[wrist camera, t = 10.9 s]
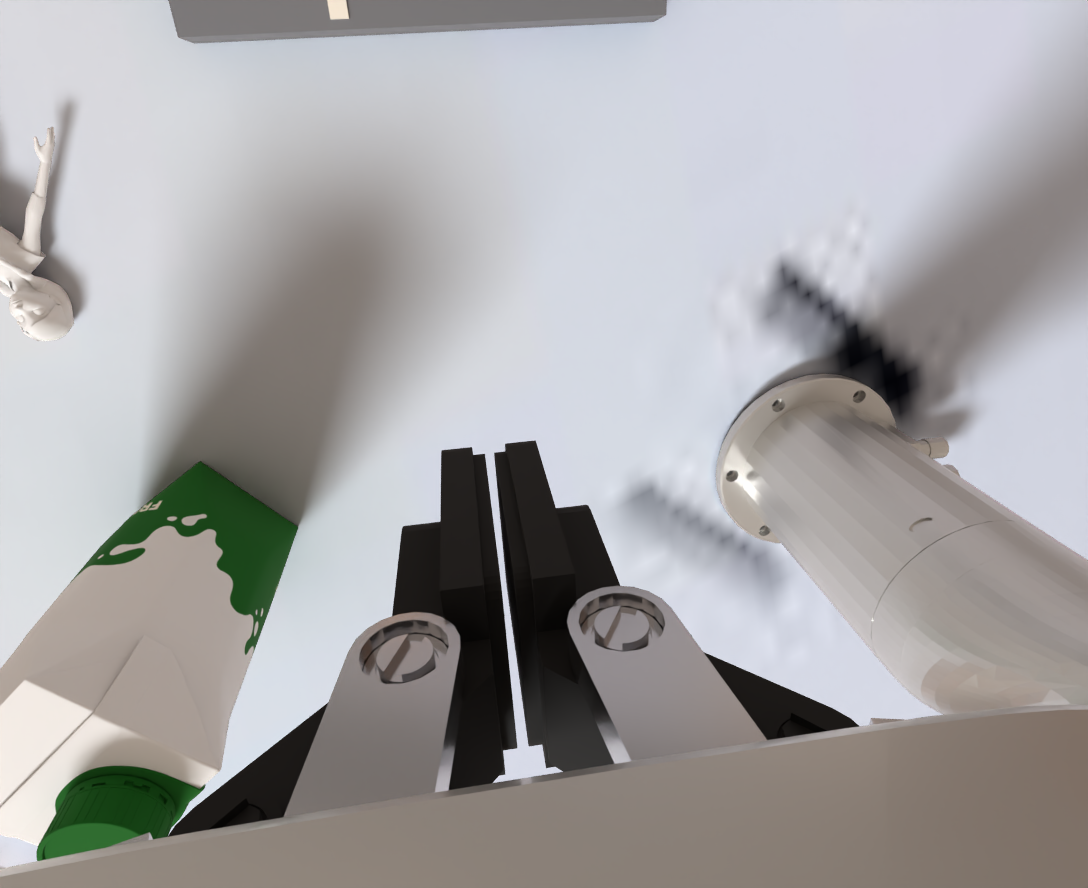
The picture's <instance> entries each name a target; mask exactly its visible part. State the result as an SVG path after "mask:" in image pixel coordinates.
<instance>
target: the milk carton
mask: <svg viewBox="0 0 1088 888" xmlns="http://www.w3.org/2000/svg"><path fill="white" fill-rule="evenodd" d="M297 530H298V527H297V526H296V525H294V524H293V523H291V522H290V521H288V520H287V519H285V518H284V517H282V516H281V515H279V514H278V513H276V512H275V511H274V510H272V509H271V508H269V507H268V506H266V505H265V504H263V503H262V502H260V501H259V500H257V499H256V498H254V497H253V496H251V495H250V494H248V493H247V492H245V491H244V490H242V489H241V488H239V487H238V486H236V485H235V484H233V483H232V482H230V481H229V480H227V479H226V478H224V477H223V476H221V475H220V474H218V473H217V472H215V471H214V470H212V469H211V468H210V467H208V466H207V465H205V464H204V463H202V462H201V461H200V462H198V463H197V464H196V465H195V466H193V467H192V468H191V469H190V470H188V471H187V472H186V473H184V474H183V475H182V476H181V477H179V478H178V479H177V480H176V481H174V482H173V483H172V484H171V485H169V486H168V487H167V488H166V489H164V490H163V491H162V492H161V493H159V494H158V495H157V496H155V497H154V498H153V499H152V500H150V501H149V502H148V503H147V504H145V505H144V506H143V507H142V508H140V509H139V510H138V511H137V512H136V513H134V514H133V515H132V516H131V517H130V518H129V519H128V520H127V521H126V522H125V523H124V524H123V525H122V526H121V527H120V528H119V529H118V530H117V531H116V532H115V533H114V534H113V535H112V536H111V537H110V538H109V539H108V540H107V541H106V542H105V543H104V544H103V545H102V546H101V547H100V548H99V549H98V550H97V551H96V553H95V554H94V555H93V556H92V557H91V559H90V560H89V561H88V562H87V563H86V565H85V566H84V567H83V568H82V569H81V571H80V572H79V573H78V574H77V575H76V576H75V578H74V579H73V580H72V581H71V582H70V584H69V585H68V586H67V587H66V588H65V590H64V591H63V592H62V593H61V594H60V596H59V597H58V598H57V599H56V600H55V602H54V603H53V604H52V605H51V606H50V608H49V609H48V610H47V611H46V612H45V614H44V615H43V616H42V617H41V618H40V620H39V621H38V622H37V623H36V624H35V626H34V627H33V628H32V629H31V630H30V631H29V633H28V634H27V635H26V637H25V638H24V639H23V641H22V642H21V644H20V645H19V646H18V648H17V649H16V650H15V652H14V653H13V654H12V655H11V657H10V658H9V659H8V660H7V661H6V663H5V664H4V665H3V667H2V668H1V669H0V835H3V836H6V837H14V838H17V839H20V840H23V841H26V842H28V843H31V844H34V845H37V846H38V849H37V861H41V860H46V859H51V858H56V857H61V856H66V855H71V854H76V853H81V852H86V851H91V850H96V849H101V848H106V847H109V846H112V845H115V844H118V843H121V842H123V841H126V840H129V839H132V838H135V837H138V836H141V835H143V834H146V833H149V832H150V834H151V836H152V838H153V839H159V838H164V837H168V834H169V832H170V829H171V827H172V826H173V825H174V824H175V823H176V822H177V821H178V820H179V819H180V818H181V816H182V815H183V813H184V811H185V809H186V807H187V806H188V804H189V802H190V801H191V800H192V799H194V798H195V797H196V796H197V795H198V794H199V793H200V792H201V791H203V789H204V788H205V784H206V783H207V782H208V781H209V780H211V779H212V778H213V777H214V776H215V775H216V774H217V773H218V772H219V771H220V770H221V767H222V760H223V754H224V748H225V742H226V736H227V730H228V724H229V719H230V716H231V713H232V710H233V707H234V705H235V702H236V699H237V696H238V694H239V691H240V688H241V685H242V683H243V680H244V677H245V674H246V672H247V669H248V666H249V664H250V661H251V658H252V655H253V653H254V650H255V647H256V644H257V642H258V639H259V636H260V633H261V631H262V628H263V625H264V623H265V620H266V617H267V614H268V612H269V609H270V606H271V603H272V601H273V598H274V595H275V592H276V589H277V587H278V584H279V581H280V578H281V575H282V572H283V569H284V567H285V564H286V561H287V558H288V555H289V552H290V549H291V547H292V544H293V541H294V538H295V535H296V532H297Z"/></svg>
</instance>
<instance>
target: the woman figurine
mask: <svg viewBox="0 0 1088 888" xmlns="http://www.w3.org/2000/svg"><path fill="white" fill-rule="evenodd" d="M33 139H34V146H35V151H36V154H37V155H38V157H39V159H40V160H41V161H40V166H39V171H38V175H37V180H36V185H35V189H34V192H32V195H31V197H30V200H29V202H28V205H27V207H26V213H25V228H24V233H23V237H22V240H20V239H18V238H17V237H16V236H15V235H14V234H13V233H11V232H9V231H8V230H6V229H4V228H3V227H2V226H1V225H0V291H1V292H2V293H3V294H4V295H5V296H8V297H10V302H9V310H10V313H11V314H12V315H13V316H14V317H15V318H16V319H17V320H18V321H17V324H18V325H20V327H21V330H22V331H23V329H24V330H25V331H26V332H27V333H25V332H24V331H23V333H24V334H25V335H27V336H29V337H31V338H33V339H35V340H37V341H53V340H58V339H60V338H62V337H64V336H65V335H66V334H67V333H68V332H69V330H70V329H71V327H72V326H73V324H74V318H73V310H72V305H71V302H70V299H69V297H68V295H67V293H66V292H65V291H64V290H63V289H62V287H61V286H60V285H58V284H56V283H54V282H52V281H50V280H47V279H44V278H41V277H37V276H34V275H32V274H31V273H32V272H33V271H34V270H35V269H36V267H37V266H38V265H39V264H40V263H41V261H42V260H43V259H44V258H45V256H46V255H45V254H44V253H42V252H40V250H41V244H40V231H41V222H42V215H43V213H44V210H45V205H46V198H47V196H46V193H47V187H48V181H49V175H50V168H51V163H52V155H53V150H54V146H55V135H54V128H53V127H51V129H50V128H48V129H47V139H46V143H45V144H44V145H43V146H40V145H39V143H38V140H37V137H34V138H33ZM6 284H7V285H6Z"/></svg>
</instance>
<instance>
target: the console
mask: <svg viewBox="0 0 1088 888" xmlns="http://www.w3.org/2000/svg"><path fill="white" fill-rule="evenodd" d="M666 3H667V0H169V4H170V8H171V12H172V15H173V19H174V23H175V27H176V31H177V35H178V37H179V38H181V39H184V40H187V41H189V42H192V43H212V42H233V41H254V40H275V39H297V38H318V37H339V36H360V35H382V34H403V33H424V32H446V31H467V30H488V29H509V28H531V27H552V26H573V25H594V24H616V23H637V22H654V21H656V20H658V19H660V18H661V17H663V16H665V15H666Z"/></svg>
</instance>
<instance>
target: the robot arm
mask: <svg viewBox="0 0 1088 888" xmlns="http://www.w3.org/2000/svg"><path fill="white" fill-rule="evenodd" d="M505 451H506V452H498V453H494V455H495V467H496V477H497V488H498V499H499V509H500V520H501V530H502V541H503V552H504V562H505V573H506V583H507V591H508V599H509V606H510V613H511V621H512V628H513V635H514V643H515V650H516V657H517V664H518V672H519V679H520V686H521V694H522V701H523V708H524V715H525V723H526V730H527V737H528V744H529V746H534V745H541V744H542V745H543V751H544V757H545V764H546V768H549V767H557V768H558V769H560V770H562V771H563V772H560V773H554V774H548V775H541V776H535V777H529V778H522V779H516V780H510V781H504V782H497V783H493V782H494V780H495V779H496V778H497V777H498V776H499V775H505V767H504V756H503V750H508V749H515V748H517V740H516V730H515V720H514V710H513V700H512V690H511V680H510V670H509V660H508V649H507V639H506V629H505V619H504V609H503V599H502V590H501V581H500V572H499V564H498V556H497V548H496V540H495V532H494V524H493V516H492V508H491V500H490V492H489V484H488V476H487V468H486V460H485V454H479V455H473V452H472V447H470V448H460V449H451V450H442V452H441V522H435V523H427V524H418V525H410V526H404V527H403V528H402V534H401V543H400V552H399V561H398V570H397V579H396V588H395V597H394V606H393V614H392V617H389V618H386V619H383V620H381V621H379V622H378V623H376V624H374V625H373V626H371V627H369V628H367V629H366V630H365V631H364V632H363V633H362V634H361V635H360V636H359V637H358V638H357V639H356V640H355V642H354V643H353V645H352V647H351V648H350V650H349V652H348V654H347V657H346V659H345V662H344V664H343V667H342V669H341V672H340V674H339V677H338V680H337V682H336V685H335V687H334V690H333V692H332V695H331V697H330V700H329V702H328V703H327V704H326V705H325V706H323V707H322V708H321V709H319V710H318V711H317V712H316V713H314V714H313V715H312V716H310V717H309V718H308V719H307V720H305V721H304V722H303V723H302V724H300V725H299V726H298V727H296V728H295V729H294V730H293V731H291V732H290V733H289V734H288V735H286V736H285V737H284V738H282V739H281V740H280V741H279V742H277V743H276V744H275V745H273V746H272V747H271V748H270V749H268V750H267V751H266V752H265V753H263V754H262V755H261V756H259V757H258V758H257V759H256V760H254V761H253V762H252V763H251V764H249V765H248V766H247V767H245V768H244V769H243V770H242V771H240V772H239V773H238V774H236V775H235V776H234V777H233V778H231V779H230V780H229V781H228V782H226V783H225V784H224V785H222V786H221V787H220V788H219V789H217V790H216V791H215V792H214V793H212V794H211V795H210V796H208V797H207V798H206V799H205V800H203V801H202V802H201V803H199V804H198V805H197V806H196V807H194V808H193V809H192V810H191V811H190V812H189V813H188V814H187V815H186V816H185V817H184V818H183V819H182V820H181V821H180V822H179V823H178V824H176V826H175V827H174V828H173V830H172V831H171V833H170V834H169V835H168V837H164V838H159V839H153V838H152V836H151V834H150V832H149V833H146V834H143V835H141V836H138V837H135V838H132V839H129V840H126V841H123V842H121V843H118V844H115V845H112V846H109V847H106V848H101V849H96V850H91V851H86V852H81V853H76V854H71V855H66V856H61V857H56V858H51V859H46V860H41V861H36V862H31V863H27V864H22V865H17V866H12V867H7V868H2V869H0V888H1088V560H1087V559H1085V558H1084V557H1082V556H1081V555H1079V554H1078V553H1076V552H1074V551H1073V550H1071V549H1070V548H1068V547H1067V546H1065V545H1064V544H1062V543H1060V542H1059V541H1057V540H1056V539H1054V538H1053V537H1051V536H1050V535H1048V534H1047V533H1045V532H1044V531H1042V530H1040V529H1039V528H1037V527H1036V526H1034V525H1033V524H1031V523H1030V522H1028V521H1027V520H1025V519H1023V518H1022V517H1020V516H1019V515H1017V514H1016V513H1014V512H1013V511H1011V510H1010V509H1008V508H1007V507H1005V506H1004V505H1002V504H1001V503H999V502H998V501H996V500H994V499H993V498H991V497H990V496H988V495H987V494H985V493H984V492H982V491H981V490H979V489H978V488H976V487H975V486H973V485H972V484H970V483H969V482H967V481H965V480H964V479H962V478H961V477H960V475H959V473H958V471H957V469H956V468H955V467H954V466H952V465H949V464H946V465H941V464H940V463H938V462H937V461H935V460H933V459H935V458H943V457H945V456H947V454H948V452H949V445H948V443H947V441H946V440H945V439H944V438H942V437H935V438H926V439H921V440H918V441H915V440H914V439H912V438H911V437H909V436H907V435H906V434H904V433H903V432H901V431H900V430H898V429H896V423H895V420H894V417H893V415H892V413H891V410H890V408H889V407H888V405H887V404H886V403H885V401H884V400H883V399H882V397H881V396H880V395H878V394H877V393H876V392H874V391H873V390H872V389H871V388H869V387H868V386H866V385H864V384H862V383H860V382H859V381H857V380H855V379H852V378H848V377H845V376H842V375H835V374H815V375H806V376H803V377H799V378H796V379H792V380H789V381H787V382H785V383H783V384H780V385H778V386H776V387H774V388H772V389H771V390H769V391H768V392H766V393H765V394H763V395H762V396H760V397H759V398H758V399H756V400H755V401H754V402H753V403H752V404H751V405H750V406H749V407H748V408H747V409H746V410H745V411H743V412H742V414H741V415H740V416H739V418H738V419H737V420H736V421H735V423H734V424H733V425H732V427H731V428H730V430H729V432H728V434H727V436H726V438H725V440H724V441H723V443H722V446H721V450H720V453H719V456H718V459H717V466H716V486H717V492H718V495H719V498H720V501H721V504H722V505H723V507H724V508H725V510H726V512H727V513H728V515H729V516H730V517H731V518H732V520H733V521H734V522H735V523H736V524H737V526H739V527H740V528H741V529H743V530H744V531H745V532H746V533H748V534H749V535H751V536H753V537H755V538H758V539H760V540H764V541H768V542H773V543H782V545H783V546H784V547H785V548H786V549H787V551H788V552H789V553H790V554H791V555H792V557H793V558H794V559H795V560H796V561H797V563H798V564H799V565H800V566H801V567H802V569H803V570H804V571H805V572H806V573H807V574H808V576H809V577H810V578H811V579H812V580H813V582H814V583H815V584H816V585H817V586H818V588H819V589H820V590H821V591H822V592H823V594H824V595H825V596H826V597H827V598H828V600H829V601H830V602H831V603H832V604H833V606H834V607H835V608H836V609H837V610H838V612H839V613H840V614H841V615H842V616H843V618H844V619H845V620H846V621H847V622H848V624H849V625H850V626H851V627H852V628H853V630H854V631H855V632H856V633H857V634H858V636H859V637H860V638H861V639H862V640H863V642H864V643H865V644H866V645H867V646H868V647H869V649H870V650H871V651H872V652H873V653H874V655H875V656H876V657H877V658H878V659H879V661H880V662H881V663H882V664H883V665H884V666H885V667H886V669H887V670H888V671H889V672H890V673H891V675H892V676H893V677H894V678H895V679H896V680H897V681H898V682H899V683H900V684H901V685H902V686H903V687H904V688H905V689H906V690H907V691H908V692H909V693H910V694H911V695H913V696H914V697H915V698H916V699H918V700H919V701H920V702H922V703H923V704H925V705H927V706H928V707H930V708H932V709H934V710H935V711H937V712H939V713H941V714H943V715H937V716H929V717H921V718H915V719H908V720H901V719H880V718H871V720H870V724H869V725H867V726H859V725H857V724H856V723H855V722H854V721H853V720H852V719H851V718H849V717H847V716H845V715H843V714H842V713H840V712H838V711H836V710H834V709H833V708H831V707H828V706H826V705H824V704H821V703H819V702H817V701H815V700H812V699H810V698H808V697H805V696H803V695H801V694H798V693H796V692H794V691H792V690H789V689H787V688H785V687H782V686H780V685H778V684H775V683H773V682H771V681H769V680H766V679H764V678H762V677H759V676H757V675H755V674H752V673H750V672H748V671H746V670H743V669H741V668H739V667H736V666H734V665H732V664H729V663H727V662H725V661H723V660H720V659H718V658H716V657H713V656H711V655H709V654H706V653H704V652H703V651H702V650H701V648H700V647H699V646H698V644H697V643H696V641H695V640H694V639H693V637H692V636H691V635H690V633H689V632H688V630H687V629H686V628H685V626H684V625H683V624H682V622H681V621H680V619H679V618H678V617H677V615H676V614H675V613H674V611H673V610H672V608H671V607H670V606H669V605H668V604H667V603H666V602H665V601H664V600H663V599H662V598H660V597H658V596H656V595H654V594H652V593H651V592H649V591H646V590H642V589H639V588H635V587H627V586H620V584H619V581H618V579H617V576H616V574H615V571H614V569H613V566H612V564H611V561H610V558H609V556H608V553H607V551H606V548H605V546H604V543H603V541H602V538H601V536H600V533H599V530H598V528H597V525H596V523H595V520H594V518H593V515H592V513H591V510H590V508H589V506H588V505H581V506H573V507H564V508H555V504H554V501H553V498H552V494H551V491H550V488H549V484H548V481H547V478H546V474H545V471H544V468H543V464H542V461H541V457H540V454H539V451H538V447H537V444H536V441H527V442H517V443H508V444H505Z"/></svg>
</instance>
